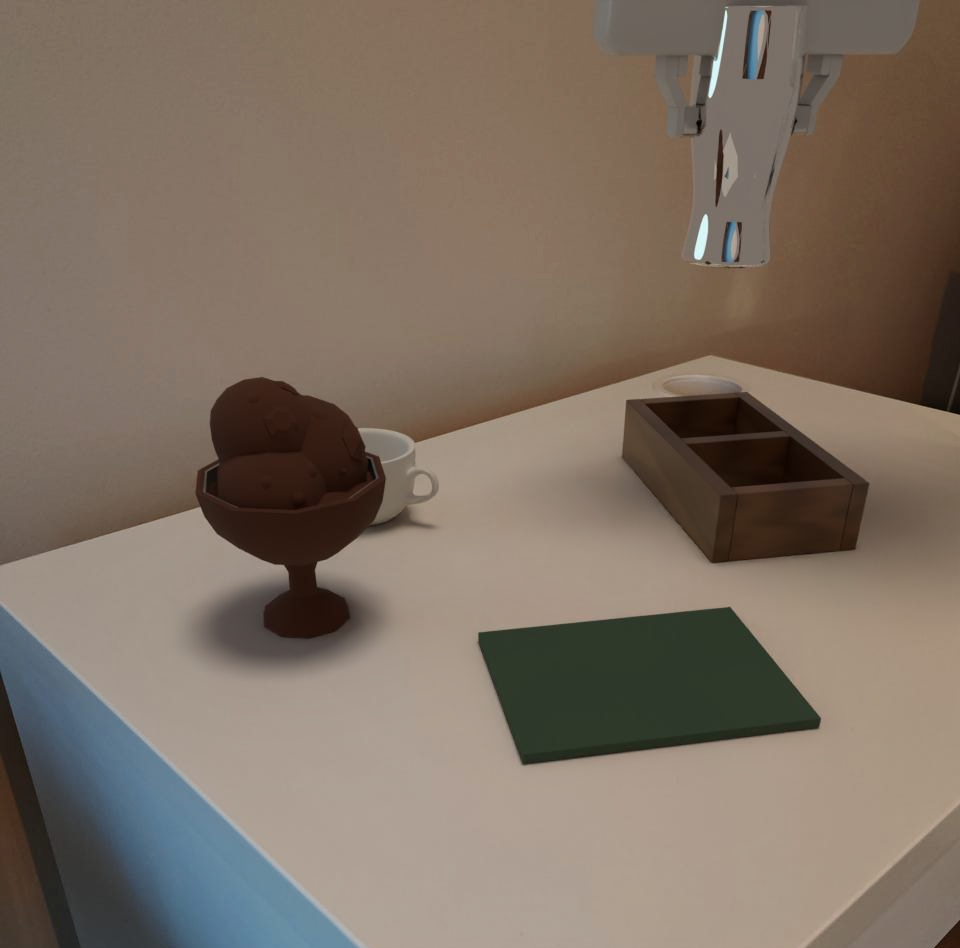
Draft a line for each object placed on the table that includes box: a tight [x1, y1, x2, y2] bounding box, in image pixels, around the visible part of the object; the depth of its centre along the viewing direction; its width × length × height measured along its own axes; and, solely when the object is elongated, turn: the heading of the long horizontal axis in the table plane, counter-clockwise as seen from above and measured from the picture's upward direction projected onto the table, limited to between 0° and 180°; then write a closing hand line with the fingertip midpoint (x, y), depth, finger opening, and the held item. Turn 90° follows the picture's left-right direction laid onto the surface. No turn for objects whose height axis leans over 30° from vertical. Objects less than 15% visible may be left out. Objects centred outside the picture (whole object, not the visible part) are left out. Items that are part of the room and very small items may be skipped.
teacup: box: [357, 427, 440, 526], centre depth 74 cm, size 10×8×5 cm
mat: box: [477, 606, 822, 764], centre depth 56 cm, size 16×12×1 cm
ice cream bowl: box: [194, 376, 386, 639], centre depth 59 cm, size 11×11×15 cm
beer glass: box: [681, 5, 809, 269], centre depth 66 cm, size 7×7×15 cm
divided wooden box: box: [621, 391, 870, 563], centre depth 76 cm, size 11×20×5 cm, turn 11°
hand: (740, 136), depth 66 cm, fingers closed on beer glass, 7 cm apart
